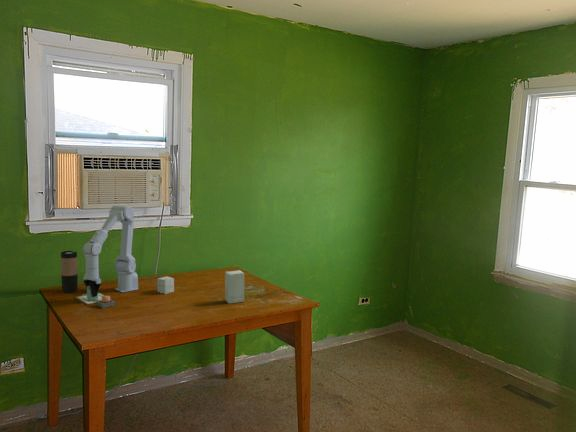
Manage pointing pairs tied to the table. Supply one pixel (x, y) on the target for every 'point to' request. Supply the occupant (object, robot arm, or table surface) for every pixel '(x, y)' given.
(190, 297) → the table surface
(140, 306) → the table surface
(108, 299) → the button
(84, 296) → the clipboard with paper sheet
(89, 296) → the teal banded box
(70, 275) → the travel mug
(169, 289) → the skincare box
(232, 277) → the skincare box
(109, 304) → the button housing
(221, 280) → the table surface
